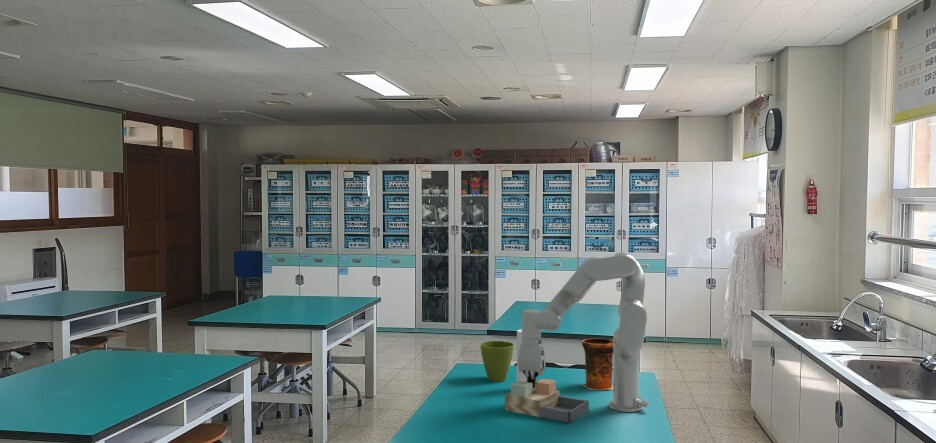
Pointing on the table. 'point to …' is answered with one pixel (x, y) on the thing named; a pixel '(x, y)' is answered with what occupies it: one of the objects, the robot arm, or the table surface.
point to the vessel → (598, 363)
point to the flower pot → (497, 359)
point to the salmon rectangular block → (545, 386)
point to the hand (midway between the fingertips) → (531, 388)
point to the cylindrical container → (519, 341)
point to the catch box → (565, 410)
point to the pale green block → (521, 388)
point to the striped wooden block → (531, 402)
